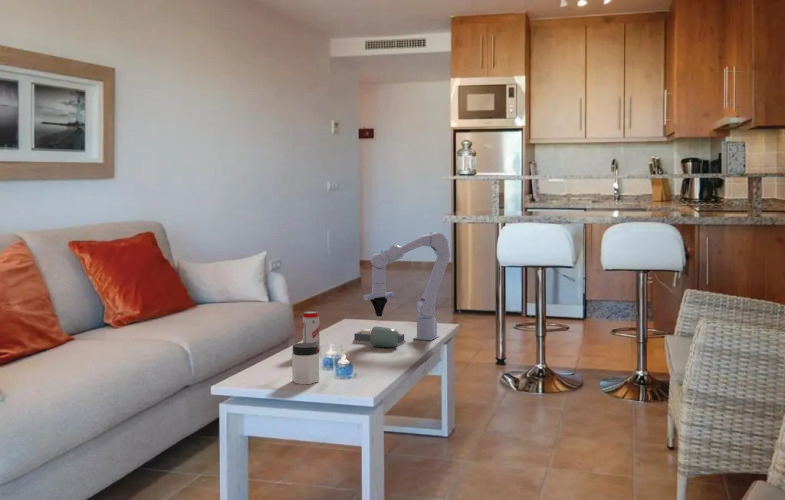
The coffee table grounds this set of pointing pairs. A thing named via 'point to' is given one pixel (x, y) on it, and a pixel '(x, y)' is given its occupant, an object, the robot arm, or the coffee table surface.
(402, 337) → the gray compartment tray
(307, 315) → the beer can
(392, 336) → the cup
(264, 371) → the coffee table surface
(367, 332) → the white egg
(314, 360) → the jar
